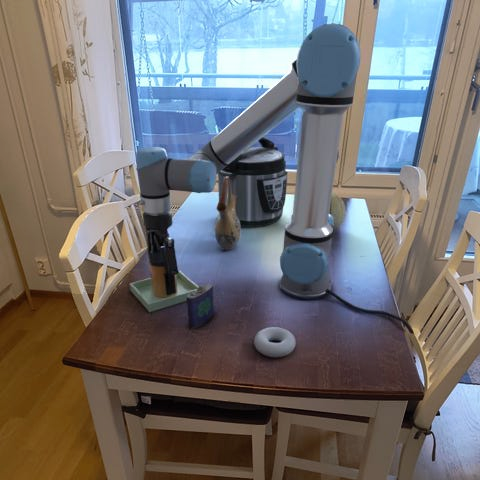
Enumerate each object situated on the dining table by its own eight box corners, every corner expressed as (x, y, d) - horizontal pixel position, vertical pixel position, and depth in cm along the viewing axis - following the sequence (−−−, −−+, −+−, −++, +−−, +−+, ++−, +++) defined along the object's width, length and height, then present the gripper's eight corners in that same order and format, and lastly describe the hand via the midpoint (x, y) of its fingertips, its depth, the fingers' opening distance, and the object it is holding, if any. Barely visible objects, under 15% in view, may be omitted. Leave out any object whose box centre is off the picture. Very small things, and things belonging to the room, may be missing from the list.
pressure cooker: (224, 233, 164) (222, 146, 146) (209, 210, 187) (206, 132, 169) (296, 226, 170) (303, 142, 153) (274, 204, 193) (277, 129, 176)
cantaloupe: (326, 240, 158) (330, 200, 150) (297, 229, 168) (300, 191, 160) (351, 231, 166) (357, 192, 158) (322, 220, 176) (326, 184, 167)
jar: (182, 293, 123) (179, 257, 117) (158, 301, 120) (154, 264, 113) (171, 283, 128) (168, 248, 122) (148, 290, 125) (143, 254, 119)
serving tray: (201, 296, 123) (201, 288, 122) (149, 312, 116) (148, 304, 114) (179, 277, 133) (179, 270, 132) (130, 290, 126) (129, 283, 124)
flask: (209, 311, 116) (207, 276, 110) (217, 314, 115) (216, 279, 109) (186, 326, 110) (183, 290, 104) (194, 330, 108) (192, 294, 103)
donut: (298, 360, 98) (292, 334, 107) (299, 348, 97) (293, 323, 105) (255, 361, 98) (252, 335, 106) (255, 349, 96) (252, 324, 104)
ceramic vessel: (234, 258, 145) (233, 184, 131) (209, 255, 147) (206, 182, 133) (245, 240, 158) (246, 171, 144) (222, 237, 160) (220, 169, 146)
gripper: (128, 203, 116) (139, 276, 129) (160, 226, 102) (168, 306, 114) (154, 198, 120) (162, 270, 132) (187, 220, 105) (193, 299, 118)
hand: (164, 287), depth 123 cm, fingers open, 8 cm apart
